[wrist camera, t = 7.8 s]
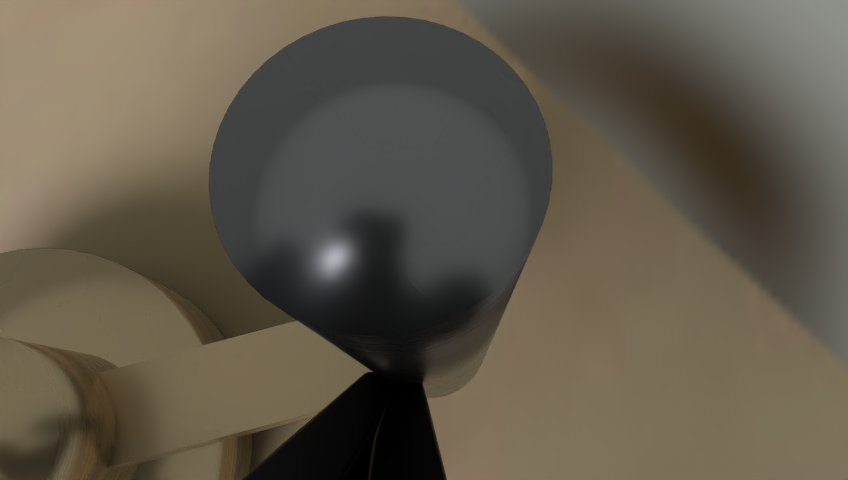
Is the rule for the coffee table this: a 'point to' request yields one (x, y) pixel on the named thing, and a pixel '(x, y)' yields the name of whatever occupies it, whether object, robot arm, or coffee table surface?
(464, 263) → the crank handle
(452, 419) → the coffee table surface
